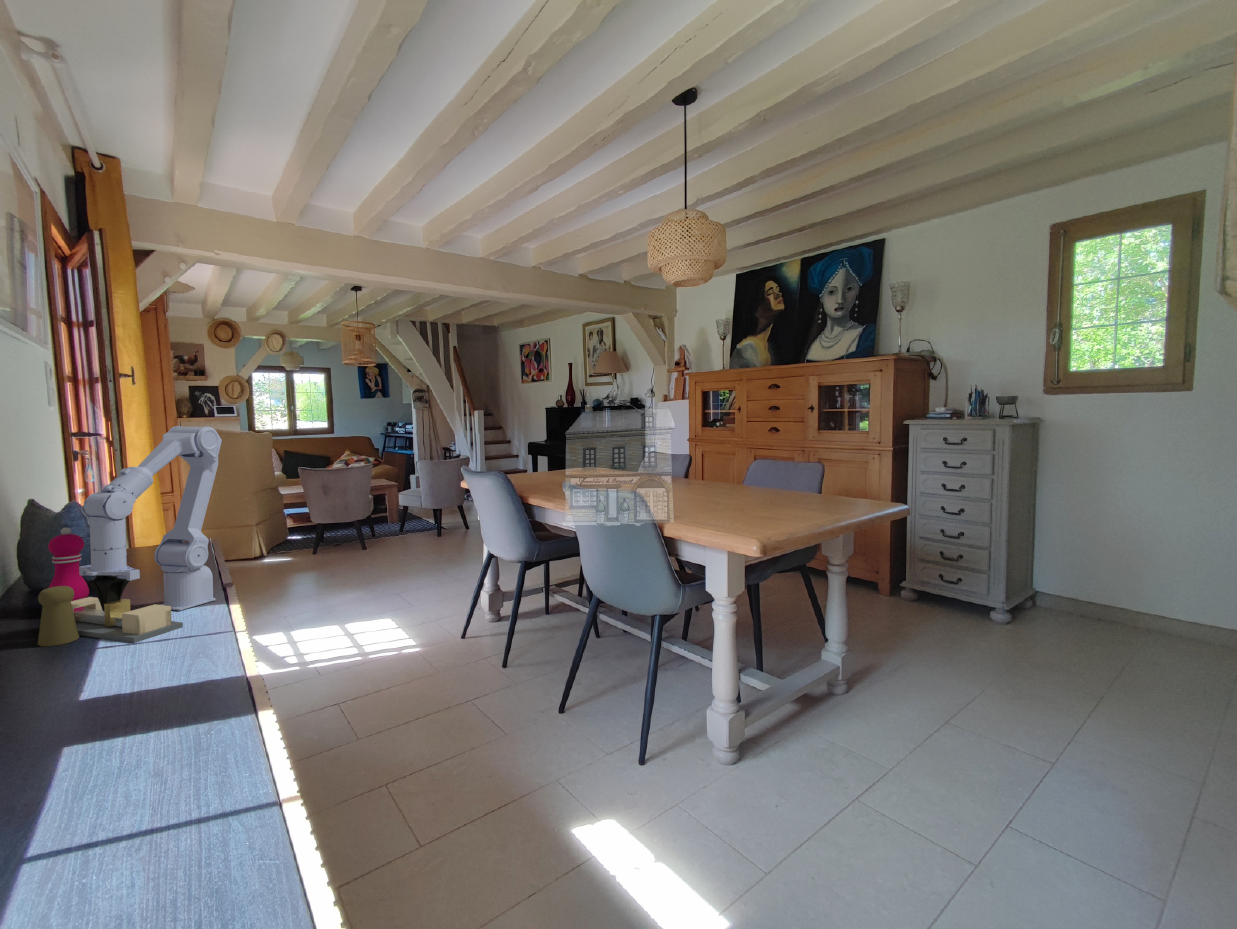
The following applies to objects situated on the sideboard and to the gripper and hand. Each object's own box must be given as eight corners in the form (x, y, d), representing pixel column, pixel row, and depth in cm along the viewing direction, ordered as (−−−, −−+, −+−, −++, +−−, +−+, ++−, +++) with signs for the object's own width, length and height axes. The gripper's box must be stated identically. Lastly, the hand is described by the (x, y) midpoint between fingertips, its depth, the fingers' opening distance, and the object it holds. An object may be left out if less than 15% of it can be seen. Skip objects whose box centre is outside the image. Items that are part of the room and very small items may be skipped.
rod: (86, 615, 128) (85, 594, 128) (144, 622, 124) (143, 601, 124) (65, 620, 124) (64, 599, 124) (124, 628, 120) (123, 606, 120)
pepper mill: (63, 618, 129) (60, 530, 128) (38, 616, 131) (35, 529, 130) (97, 609, 136) (95, 526, 135) (74, 607, 138) (71, 524, 137)
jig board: (97, 616, 131) (96, 594, 131) (182, 626, 125) (182, 604, 125) (44, 630, 122) (43, 607, 121) (134, 642, 116) (133, 618, 115)
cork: (39, 648, 112) (36, 593, 111) (36, 641, 116) (33, 587, 115) (81, 640, 116) (78, 587, 116) (77, 633, 120) (74, 581, 119)
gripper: (61, 549, 121) (63, 612, 121) (113, 553, 117) (115, 619, 118) (99, 543, 128) (101, 603, 128) (149, 547, 124) (150, 609, 125)
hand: (110, 610), depth 123 cm, fingers closed
